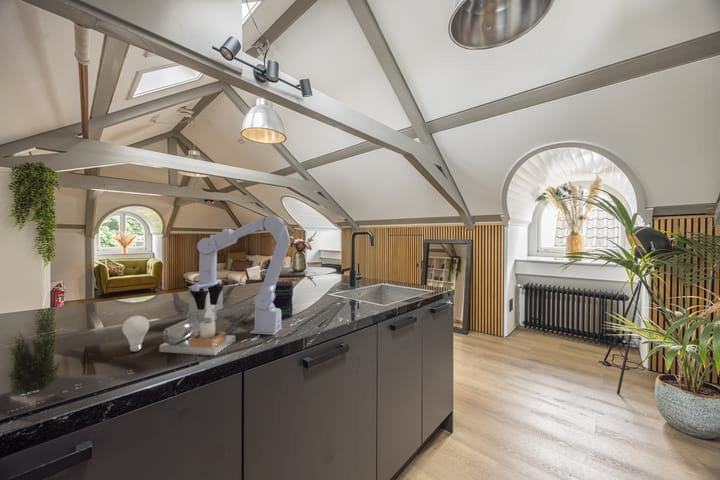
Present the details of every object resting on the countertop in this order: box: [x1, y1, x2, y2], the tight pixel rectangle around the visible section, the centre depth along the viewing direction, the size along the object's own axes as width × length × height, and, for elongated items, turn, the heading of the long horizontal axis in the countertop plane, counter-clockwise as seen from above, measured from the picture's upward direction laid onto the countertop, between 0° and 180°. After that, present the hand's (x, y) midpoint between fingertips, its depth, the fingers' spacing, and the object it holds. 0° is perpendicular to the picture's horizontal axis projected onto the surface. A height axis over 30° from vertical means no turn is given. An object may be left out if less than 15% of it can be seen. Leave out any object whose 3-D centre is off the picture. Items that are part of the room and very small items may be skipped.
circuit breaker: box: [186, 285, 224, 322], centre depth 124 cm, size 8×14×15 cm, turn 174°
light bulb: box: [121, 315, 150, 353], centre depth 90 cm, size 7×7×11 cm
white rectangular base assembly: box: [158, 317, 237, 356], centre depth 95 cm, size 18×12×8 cm, turn 84°
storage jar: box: [272, 281, 294, 321], centre depth 131 cm, size 10×10×15 cm
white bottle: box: [199, 318, 216, 339], centre depth 95 cm, size 4×4×7 cm
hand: (207, 307), depth 108 cm, fingers open, 7 cm apart
